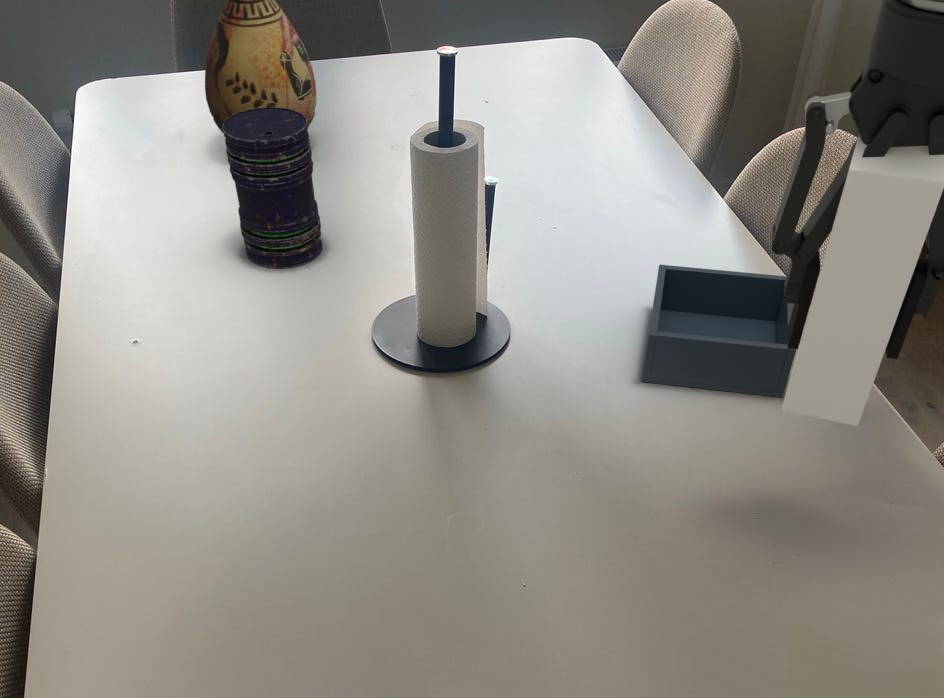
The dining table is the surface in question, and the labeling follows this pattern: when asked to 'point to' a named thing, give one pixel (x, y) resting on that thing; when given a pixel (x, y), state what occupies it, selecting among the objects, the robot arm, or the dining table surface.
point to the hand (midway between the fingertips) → (841, 343)
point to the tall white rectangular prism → (863, 280)
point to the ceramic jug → (257, 63)
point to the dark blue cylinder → (274, 186)
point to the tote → (719, 331)
